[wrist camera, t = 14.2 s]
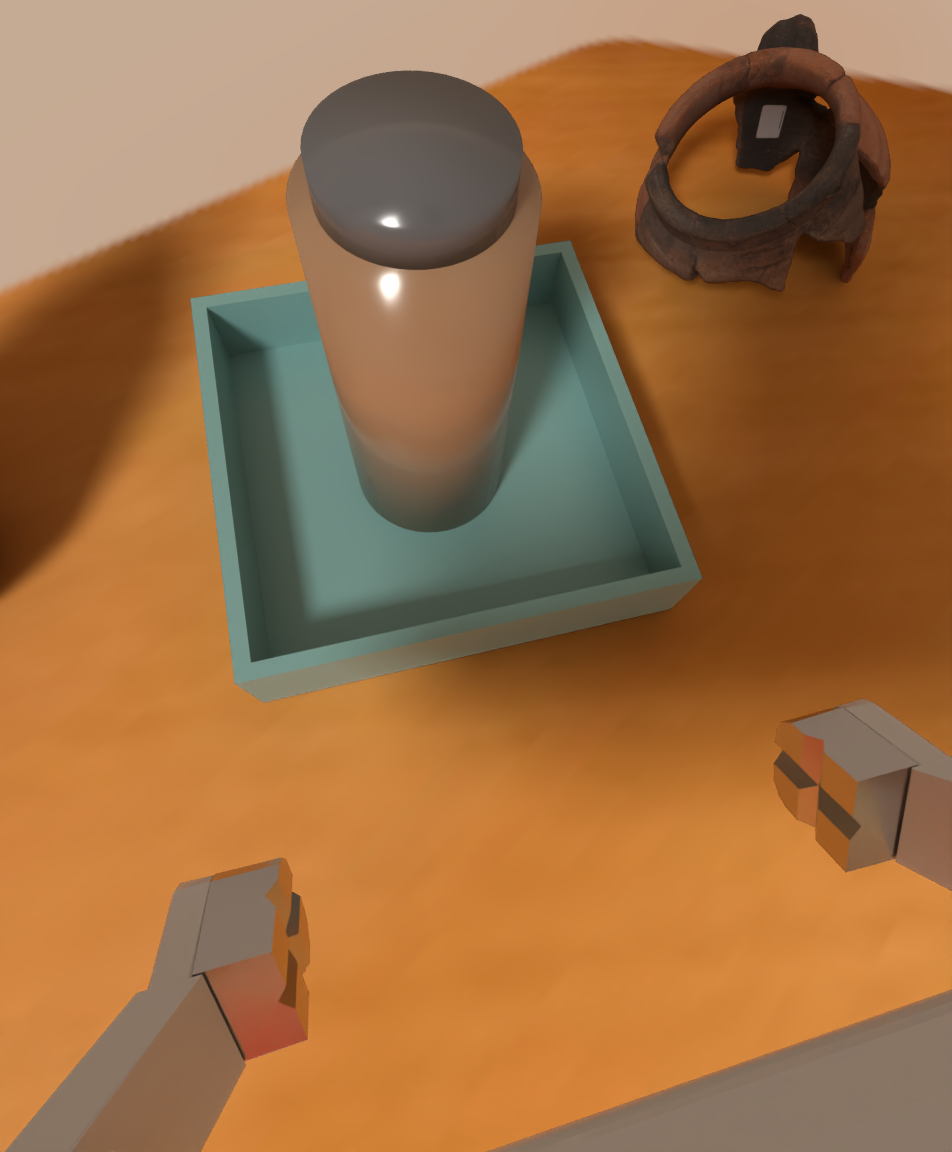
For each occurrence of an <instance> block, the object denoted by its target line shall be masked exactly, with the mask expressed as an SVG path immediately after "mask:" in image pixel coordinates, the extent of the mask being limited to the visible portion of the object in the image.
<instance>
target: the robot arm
mask: <svg viewBox="0 0 952 1152" xmlns="http://www.w3.org/2000/svg"><path fill="white" fill-rule="evenodd" d="M775 742H776V744H777V745H778V746H779V747H780V748H781V749H782V750H783V751H782V752H781V754H780V755H779V757H778V758H777V760H776V761H775V763H774V782H775V785H776V788H777V791H778V794H779V797H780V798H781V800H782V801H783V803H784V805H785V806H786V808H787V809H788V810H789V811H790V812H791V814H792V815H793V816H794V817H795V818H796V819H797V820H799V821H802V822H804V823H806V824H809V825H811V826H813V827H815V837H816V841H817V842H818V843H819V844H820V845H821V846H822V847H823V849H824V850H825V851H826V852H827V853H828V854H829V855H830V856H831V857H832V858H833V859H834V860H835V861H836V862H837V864H838V865H839V866H840V867H841V868H842V869H843V870H844V871H845V872H849V871H853V870H856V869H860V868H863V867H867V866H871V865H874V864H878V863H881V862H885V861H889V860H892V859H896V862H897V863H899V864H901V865H903V866H905V867H907V868H909V869H911V870H913V871H915V872H916V873H918V874H920V875H922V876H924V877H926V878H928V879H930V880H932V881H934V882H936V883H937V884H939V885H941V886H943V887H945V888H947V889H949V890H951V891H952V756H951V757H949V756H948V755H946V754H945V753H944V752H942V751H941V750H939V749H938V748H937V747H935V746H934V745H932V744H931V743H930V742H928V741H927V740H925V739H924V738H923V737H921V736H920V735H918V734H917V733H916V732H914V731H913V730H911V729H910V728H909V727H907V726H906V725H904V724H903V723H902V722H900V721H899V720H898V719H896V718H895V717H893V716H892V715H891V714H889V713H888V712H886V711H885V710H884V709H882V708H881V707H879V706H878V705H877V704H875V703H874V702H872V701H869V700H865V699H860V700H857V701H853V702H850V703H846V704H843V705H839V706H836V707H834V708H829V709H826V710H822V711H819V712H815V713H812V714H808V715H805V716H801V717H798V718H794V719H790V720H787V721H783V722H780V724H779V726H778V728H777V729H776V739H775ZM309 963H310V941H309V931H308V922H307V918H306V913H305V909H304V906H303V903H302V900H301V897H300V896H299V895H297V894H295V893H294V892H292V872H291V870H290V867H289V865H288V863H287V860H286V859H284V858H278V859H274V860H270V861H266V862H262V863H258V864H254V865H250V866H246V867H242V868H238V869H233V870H229V871H225V872H221V873H217V874H215V875H213V876H209V877H204V878H200V879H196V880H192V881H188V882H183V883H180V884H179V886H178V887H177V888H176V890H175V891H174V893H173V896H172V900H171V903H170V907H169V911H168V915H167V919H166V922H165V926H164V930H163V934H162V938H161V941H160V945H159V949H158V953H157V957H156V960H155V964H154V968H153V972H152V976H151V979H150V983H149V987H148V990H146V991H142V992H139V993H136V994H135V996H134V997H133V998H132V999H131V1001H130V1002H129V1003H128V1004H127V1005H126V1007H125V1008H124V1009H123V1010H122V1011H121V1013H120V1014H119V1015H118V1016H117V1017H116V1019H115V1020H114V1021H113V1022H112V1023H111V1025H110V1026H109V1027H108V1028H107V1029H106V1031H105V1032H104V1033H103V1034H102V1035H101V1037H100V1038H99V1039H98V1040H97V1041H96V1043H95V1044H94V1045H93V1046H92V1047H91V1049H90V1050H89V1051H88V1052H87V1053H86V1055H85V1056H84V1057H83V1058H82V1059H81V1061H80V1062H79V1063H78V1064H77V1065H76V1067H75V1068H74V1069H73V1070H72V1071H71V1073H70V1074H69V1075H68V1076H67V1077H66V1079H65V1080H64V1081H63V1082H62V1084H61V1085H60V1086H59V1087H58V1088H57V1090H56V1091H55V1092H54V1093H53V1094H52V1096H51V1097H50V1098H49V1099H48V1100H47V1102H46V1103H45V1104H44V1105H43V1106H42V1108H41V1109H40V1110H39V1111H38V1112H37V1114H36V1115H35V1116H34V1117H33V1118H32V1120H31V1121H30V1122H29V1123H28V1124H27V1126H26V1127H25V1128H24V1129H23V1130H22V1132H21V1133H20V1134H19V1135H18V1136H17V1138H16V1139H15V1140H14V1141H13V1142H12V1144H11V1145H10V1146H9V1147H8V1148H7V1150H6V1151H5V1152H201V1150H202V1148H203V1146H204V1144H205V1142H206V1141H207V1139H208V1137H209V1135H210V1133H211V1131H212V1129H213V1127H214V1125H215V1123H216V1121H217V1120H218V1118H219V1116H220V1114H221V1112H222V1110H223V1108H224V1106H225V1104H226V1102H227V1100H228V1098H229V1097H230V1095H231V1093H232V1091H233V1089H234V1087H235V1085H236V1083H237V1081H238V1079H239V1077H240V1075H241V1074H242V1072H243V1070H244V1068H245V1066H246V1064H245V1062H244V1061H247V1060H250V1059H253V1058H256V1057H258V1056H261V1055H264V1054H267V1053H270V1052H273V1051H276V1050H279V1049H282V1048H285V1047H288V1046H291V1045H293V1044H296V1043H299V1042H302V1041H305V1040H308V1008H309V991H308V989H307V986H306V983H305V981H304V978H303V975H302V974H303V973H304V971H305V970H306V968H307V966H308V965H309ZM487 1152H952V990H949V991H946V992H943V993H940V994H938V995H935V996H932V997H929V998H926V999H923V1000H920V1001H917V1002H915V1003H912V1004H909V1005H906V1006H903V1007H900V1008H897V1009H895V1010H892V1011H889V1012H886V1013H883V1014H880V1015H877V1016H874V1017H872V1018H869V1019H866V1020H863V1021H860V1022H857V1023H854V1024H851V1025H849V1026H846V1027H843V1028H840V1029H837V1030H834V1031H831V1032H828V1033H826V1034H823V1035H820V1036H817V1037H814V1038H811V1039H808V1040H805V1041H803V1042H800V1043H797V1044H794V1045H791V1046H788V1047H785V1048H782V1049H780V1050H777V1051H774V1052H771V1053H768V1054H765V1055H762V1056H759V1057H757V1058H754V1059H751V1060H748V1061H745V1062H742V1063H739V1064H736V1065H734V1066H731V1067H728V1068H725V1069H722V1070H719V1071H716V1072H714V1073H711V1074H708V1075H705V1076H702V1077H699V1078H696V1079H694V1080H691V1081H688V1082H685V1083H682V1084H679V1085H676V1086H674V1087H671V1088H668V1089H665V1090H662V1091H659V1092H656V1093H654V1094H651V1095H648V1096H645V1097H642V1098H639V1099H636V1100H634V1101H631V1102H628V1103H625V1104H622V1105H619V1106H616V1107H613V1108H611V1109H608V1110H605V1111H602V1112H599V1113H596V1114H593V1115H591V1116H588V1117H585V1118H582V1119H579V1120H576V1121H573V1122H571V1123H568V1124H565V1125H562V1126H559V1127H556V1128H553V1129H550V1130H548V1131H545V1132H542V1133H539V1134H536V1135H533V1136H530V1137H527V1138H525V1139H522V1140H519V1141H516V1142H513V1143H510V1144H507V1145H504V1146H502V1147H499V1148H496V1149H493V1150H490V1151H487Z"/></svg>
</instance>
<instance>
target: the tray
mask: <svg viewBox="0 0 952 1152" xmlns="http://www.w3.org/2000/svg"><path fill="white" fill-rule="evenodd" d="M191 308H192V316H193V325H194V334H195V342H196V351H197V360H198V368H199V377H200V386H201V394H202V403H203V412H204V420H205V429H206V438H207V447H208V455H209V464H210V473H211V481H212V490H213V499H214V507H215V516H216V525H217V533H218V542H219V551H220V559H221V568H222V577H223V586H224V594H225V603H226V612H227V620H228V629H229V638H230V646H231V655H232V664H233V672H234V681H235V684H236V685H237V686H239V687H240V688H242V689H243V690H245V691H247V692H248V693H250V694H251V695H253V696H254V697H256V698H257V699H259V700H260V701H262V702H264V703H265V702H269V701H273V700H278V699H282V698H286V697H291V696H295V695H299V694H304V693H308V692H312V691H317V690H321V689H325V688H330V687H334V686H338V685H343V684H347V683H351V682H356V681H360V680H364V679H369V678H373V677H377V676H382V675H386V674H390V673H395V672H399V671H404V670H408V669H412V668H417V667H421V666H425V665H430V664H434V663H438V662H443V661H447V660H451V659H456V658H460V657H464V656H469V655H473V654H477V653H482V652H486V651H490V650H495V649H499V648H503V647H508V646H512V645H516V644H521V643H525V642H529V641H534V640H538V639H542V638H547V637H551V636H555V635H560V634H564V633H568V632H573V631H577V630H581V629H586V628H590V627H595V626H599V625H603V624H608V623H612V622H616V621H621V620H625V619H629V618H634V617H638V616H642V615H647V614H651V613H655V612H660V611H664V610H668V609H671V608H672V607H673V606H674V605H675V604H677V603H678V602H679V601H680V600H681V599H682V598H683V597H684V596H685V595H686V594H687V593H688V592H689V591H690V590H691V589H692V588H693V587H694V586H695V585H696V584H697V583H698V582H699V581H700V580H701V579H702V575H701V573H700V570H699V568H698V565H697V563H696V560H695V557H694V555H693V552H692V550H691V547H690V545H689V542H688V540H687V537H686V535H685V532H684V529H683V527H682V524H681V522H680V519H679V517H678V514H677V512H676V509H675V506H674V504H673V501H672V499H671V496H670V494H669V491H668V489H667V486H666V484H665V481H664V478H663V476H662V473H661V471H660V468H659V466H658V463H657V461H656V458H655V455H654V453H653V450H652V448H651V445H650V443H649V440H648V438H647V435H646V432H645V430H644V427H643V425H642V422H641V420H640V417H639V415H638V412H637V410H636V407H635V404H634V402H633V399H632V397H631V394H630V392H629V389H628V387H627V384H626V381H625V379H624V376H623V374H622V371H621V369H620V366H619V364H618V361H617V358H616V356H615V353H614V351H613V348H612V346H611V343H610V341H609V338H608V336H607V333H606V330H605V328H604V325H603V323H602V320H601V318H600V315H599V313H598V310H597V307H596V305H595V302H594V300H593V297H592V295H591V292H590V290H589V287H588V284H587V282H586V279H585V277H584V274H583V272H582V269H581V267H580V264H579V262H578V259H577V256H576V254H575V251H574V249H573V246H572V244H571V241H570V240H569V241H562V242H556V243H549V244H543V245H536V247H535V254H534V260H533V267H532V274H531V280H530V287H529V293H528V300H527V307H526V313H525V320H524V326H523V333H522V340H521V346H520V353H519V360H518V366H517V373H516V379H515V386H514V393H513V399H512V406H511V412H510V419H509V426H508V432H507V439H506V445H505V452H504V459H503V465H502V472H501V478H500V483H499V487H498V489H497V492H496V494H495V496H494V498H493V499H492V501H491V503H490V504H489V505H488V506H487V508H486V509H485V510H484V511H483V512H482V513H481V514H480V515H478V516H477V517H476V518H474V519H473V520H472V521H470V522H468V523H466V524H464V525H462V526H460V527H457V528H455V529H451V530H447V531H441V532H416V531H412V530H407V529H404V528H402V527H399V526H397V525H395V524H393V523H391V522H389V521H387V520H386V519H384V518H383V517H382V516H380V515H379V514H378V513H377V512H376V511H375V510H374V509H373V508H372V507H371V505H370V504H369V503H368V501H367V500H366V498H365V496H364V494H363V492H362V490H361V487H360V483H359V479H358V476H357V472H356V468H355V464H354V460H353V457H352V453H351V449H350V445H349V442H348V438H347V434H346V430H345V426H344V423H343V419H342V415H341V411H340V407H339V404H338V400H337V396H336V392H335V388H334V385H333V381H332V377H331V373H330V369H329V366H328V362H327V358H326V354H325V351H324V347H323V343H322V339H321V335H320V332H319V328H318V324H317V320H316V316H315V313H314V309H313V305H312V301H311V297H310V294H309V290H308V286H307V282H306V281H301V282H295V283H288V284H282V285H275V286H269V287H262V288H256V289H249V290H243V291H236V292H230V293H223V294H217V295H210V296H204V297H197V298H191Z"/></svg>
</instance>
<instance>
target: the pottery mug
mask: <svg viewBox="0 0 952 1152" xmlns="http://www.w3.org/2000/svg"><path fill="white" fill-rule="evenodd" d="M816 96H820V97H822V98H823V99H824V100H825V101H826V102H827V103H828V105H829V106H830V108H829V109H827V107H826V106H823V105H821V104H819V103H817V102H816V101H815V100H814V99H815V98H816ZM731 97H733V102H734V104H735V106H736V107H735V116H736V120H737V123H738V126H739V127H738V137H737V142H736V148H737V150H738V153H737V158H736V165H737V166H738V167H739V168H745V169H747V168H754V169H759V170H762V171H770V170H771V169H773V168H774V167H775V166H776V165H777V164H779V163H781V162H784V161H785V160H787V159H788V158H790V157H791V156H792V155H794V154H796V153H797V152H799V151H800V153H799V158H798V162H797V165H796V168H795V180H794V182H793V185H792V187H791V190H790V193H789V200H787V201H786V202H785V203H784V204H781V205H780V206H777V207H774V208H772V209H770V210H768V211H765V212H761V213H758V214H755V215H751V216H747V217H742V218H736V219H724V220H722V219H716V218H709V217H705V216H702V215H699V214H698V213H696V212H694V211H692V210H690V209H688V208H687V207H685V206H684V205H683V204H682V203H681V202H680V201H679V200H678V199H677V198H676V196H675V195H674V193H673V191H672V189H671V187H670V184H669V177H668V171H667V165H668V162H669V159H670V158H671V156H672V154H673V152H674V151H675V149H676V147H677V145H678V144H679V142H680V140H681V139H682V138H683V136H684V135H685V134H686V132H687V131H688V130H689V129H690V128H691V127H692V125H693V124H694V123H695V122H696V121H697V120H698V119H700V118H701V117H702V116H703V115H704V114H706V113H707V112H708V111H710V110H711V109H712V108H714V107H715V106H717V105H718V104H720V103H721V102H723V101H725V100H727V99H729V98H731ZM655 139H656V142H657V144H658V146H659V149H658V151H657V152H656V154H655V156H654V159H653V160H652V163H651V166H650V170H649V171H648V173H647V175H646V177H645V179H644V182H643V184H642V186H641V188H640V191H639V194H638V199H637V204H636V213H635V235H636V238H637V241H638V242H639V243H640V244H641V245H642V247H643V248H644V249H645V250H646V251H647V252H648V253H649V254H650V255H651V256H652V257H653V258H654V259H655V260H656V261H657V262H658V263H660V264H661V265H662V266H664V267H665V268H666V269H668V270H670V271H672V272H674V273H675V274H677V275H678V276H679V277H680V278H682V279H685V280H692V279H694V278H696V277H697V276H698V275H700V276H701V278H702V280H703V281H704V282H706V283H725V282H738V281H752V282H756V283H760V284H763V285H765V286H766V287H767V288H769V289H772V290H776V291H779V292H783V291H784V289H785V280H786V277H787V274H788V270H789V267H790V265H791V260H792V256H793V253H794V250H795V246H796V244H797V241H798V239H799V237H800V235H801V234H804V233H805V234H807V235H808V236H810V237H811V238H812V239H814V240H815V241H817V242H832V241H842V242H845V262H844V266H843V270H842V274H841V277H840V279H841V281H843V282H848V281H850V279H851V278H852V275H853V274H854V273H855V272H856V270H857V269H858V267H859V266H860V265H861V263H862V261H863V259H864V258H865V256H866V253H867V251H868V249H869V246H870V243H871V237H872V231H873V225H874V219H875V207H876V205H877V200H878V198H879V197H880V196H881V195H882V193H883V189H885V187H886V186H887V184H888V182H889V180H890V168H891V165H890V155H889V150H888V144H887V139H886V136H885V133H884V130H883V127H882V125H881V123H880V121H879V119H878V118H877V116H876V115H875V113H874V112H873V110H872V109H871V108H870V106H869V105H868V104H867V102H866V101H865V100H864V98H863V97H862V96H861V95H860V94H859V93H858V91H857V89H856V87H855V85H854V83H853V81H852V79H851V78H850V77H849V76H846V75H845V71H844V69H843V67H842V66H841V65H840V64H838V63H837V62H835V61H833V60H832V59H830V58H829V57H827V56H826V55H823V54H821V53H819V52H818V38H817V33H816V30H815V25H814V23H813V21H812V20H811V19H810V18H809V17H806V16H804V15H802V14H799V15H796V16H794V17H792V18H790V19H787V20H780V21H778V22H777V23H776V24H775V25H774V26H772V27H771V28H770V29H769V30H768V31H766V33H765V34H764V35H763V37H762V39H761V42H760V44H759V47H758V50H757V51H755V52H750V53H748V54H746V55H744V56H740V57H737V58H735V59H733V60H732V61H729V62H727V63H725V64H723V65H722V66H720V67H718V68H716V69H715V70H713V71H712V72H709V73H708V74H707V75H705V76H703V77H702V78H701V79H700V80H698V81H697V82H696V83H694V84H693V85H692V86H691V87H690V89H688V90H687V91H686V92H685V93H684V94H683V95H681V97H680V98H679V99H678V100H677V101H676V102H675V103H674V104H673V106H672V107H671V108H670V109H669V111H668V113H667V114H666V116H665V117H664V119H663V120H662V122H661V124H660V126H659V128H658V129H657V132H656V134H655Z"/></svg>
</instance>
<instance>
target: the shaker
mask: <svg viewBox="0 0 952 1152" xmlns="http://www.w3.org/2000/svg"><path fill="white" fill-rule="evenodd" d="M286 202H287V210H288V214H289V218H290V222H291V225H292V229H293V233H294V237H295V241H296V244H297V248H298V252H299V256H300V260H301V263H302V267H303V271H304V275H305V279H306V282H307V286H308V290H309V294H310V297H311V301H312V305H313V309H314V313H315V316H316V320H317V324H318V328H319V332H320V335H321V339H322V343H323V347H324V351H325V354H326V358H327V362H328V366H329V369H330V373H331V377H332V381H333V385H334V388H335V392H336V396H337V400H338V404H339V407H340V411H341V415H342V419H343V423H344V426H345V430H346V434H347V438H348V442H349V445H350V449H351V453H352V457H353V460H354V464H355V468H356V472H357V476H358V479H359V483H360V487H361V490H362V492H363V494H364V496H365V498H366V500H367V501H368V503H369V504H370V505H371V507H372V508H373V509H374V510H375V511H376V512H377V513H378V514H379V515H380V516H382V517H383V518H384V519H386V520H387V521H389V522H391V523H393V524H395V525H397V526H399V527H402V528H404V529H407V530H412V531H416V532H441V531H447V530H451V529H455V528H457V527H460V526H462V525H464V524H466V523H468V522H470V521H472V520H473V519H474V518H476V517H477V516H478V515H480V514H481V513H482V512H483V511H484V510H485V509H486V508H487V506H488V505H489V504H490V503H491V501H492V499H493V498H494V496H495V494H496V492H497V489H498V487H499V483H500V478H501V472H502V465H503V459H504V452H505V445H506V439H507V432H508V426H509V419H510V412H511V406H512V399H513V393H514V386H515V379H516V373H517V366H518V360H519V353H520V346H521V340H522V333H523V326H524V320H525V313H526V307H527V300H528V293H529V287H530V280H531V274H532V267H533V260H534V254H535V247H536V241H537V234H538V227H539V221H540V214H541V205H542V194H541V185H540V182H539V179H538V175H537V173H536V171H535V169H534V167H533V164H532V163H531V161H530V160H529V158H528V157H527V155H526V154H525V152H524V151H523V145H522V138H521V134H520V131H519V128H518V126H517V124H516V122H515V120H514V118H513V117H512V116H511V114H510V113H509V111H508V110H507V109H506V108H505V107H504V106H503V105H502V104H501V103H500V102H499V101H498V100H497V99H496V98H494V97H493V96H492V95H490V94H489V93H487V92H486V91H484V90H483V89H481V88H479V87H477V86H475V85H473V84H471V83H469V82H466V81H464V80H461V79H458V78H455V77H452V76H448V75H444V74H439V73H433V72H425V71H393V72H386V73H380V74H375V75H372V76H367V77H364V78H361V79H359V80H356V81H353V82H351V83H349V84H347V85H345V86H343V87H341V88H339V89H337V90H336V91H334V92H333V93H331V94H330V95H329V96H327V97H326V98H325V99H324V100H323V101H322V102H321V103H320V104H319V105H318V106H317V107H316V108H315V109H314V110H313V112H312V113H311V115H310V116H309V118H308V120H307V122H306V124H305V126H304V129H303V133H302V136H301V154H300V156H299V157H298V159H297V160H296V161H295V164H294V166H293V168H292V170H291V172H290V175H289V179H288V183H287V191H286Z"/></svg>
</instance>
